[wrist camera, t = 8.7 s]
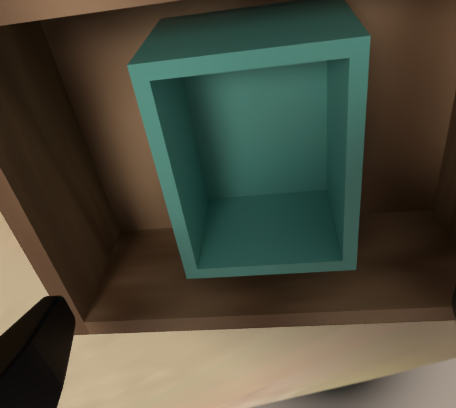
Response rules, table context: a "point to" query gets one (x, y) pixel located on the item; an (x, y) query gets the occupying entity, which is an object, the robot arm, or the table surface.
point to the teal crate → (258, 134)
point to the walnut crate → (152, 192)
